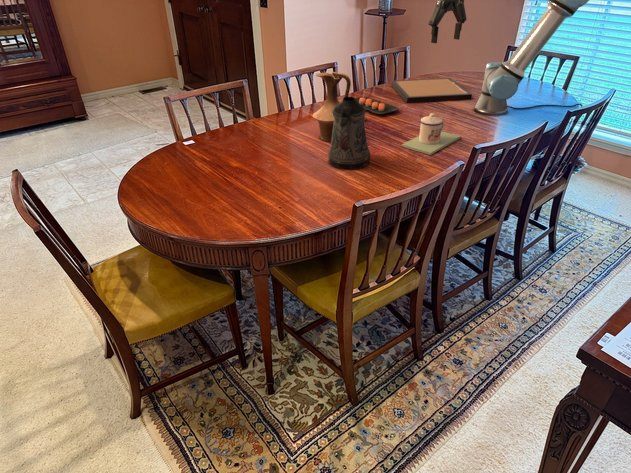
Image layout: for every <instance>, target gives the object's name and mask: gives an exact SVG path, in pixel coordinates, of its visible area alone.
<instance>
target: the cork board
mask: <svg viewBox="0 0 631 473" xmlns="http://www.w3.org/2000/svg"><path fill="white" fill-rule="evenodd" d="M391 86H392V88H393V89H394V90H395V91H396V92H397V94H398V95H399V96H400V97H401V98H402V100H404V102H405V103H406V104H416V103H433V102H435V103H437V102H449V101H450V102H453V101H469V100H470V101H471V100H472V99H473V94H472V93H471V92H470V91H469V90H467V89H465V88H464V87H463V86H462V85H460V84H459V83H457V82H456V81H454V80H453V79H452V78H451V77H441V78H423V79H403V80H392V81H391Z"/></svg>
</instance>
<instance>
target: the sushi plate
mask: <svg viewBox="0 0 631 473" xmlns="http://www.w3.org/2000/svg"><path fill="white" fill-rule="evenodd" d="M354 98H355V100H356V101H357V102H358V103H359V104H360V105H362V106H363V107H364V109H365V110H366V112H369V113H372V114H375V115H378V116H383V115H389V114H391V113H395V112H398V111H399V110H400V108H399V107H397V106H396V105H392V104H390V103H386V102H384V101H380V100H377V99H375V98H372V97H369V96H359V97H354ZM364 122H367V119H366V117H364Z"/></svg>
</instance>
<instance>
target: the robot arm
mask: <svg viewBox="0 0 631 473" xmlns="http://www.w3.org/2000/svg"><path fill="white" fill-rule="evenodd" d="M588 2H590V0H547V7H546V9H545V10H544V12H543V13H542V14H541V15H540V17H539V18H538V19H537V21H536V22H535V24H534V25H533V26H532V28H531V29H530V30H529V32H528V33H527V35H526V36H525V37H524V39H523V40H522V41H521V43H520V44H519V45H518V47H516V49H515V50H514V52H513V53H512V55H511V56H510V57H509V58H508V60H506V61H503V62H502V61H501V62H500V61H496V62H495V61H494V62H493V61H492V62H488V63H487V64H486V66H485V69H484V76H483V82H482V87H481V93H480V96H479V97H478V100H477V102H476V103H475V105H474V111H475V113H478V114H481V115H484V116H493V117H494V116H495V117H496V116H503V115H506V114H507V112H508V108H509V109H512V110H530V109H534V108H539V107H540V108H541V107H558V108H574V107H577V106H580V107H584V105H583V104H582V103H576V104H573V105H564V104H537V105H533V106H526V107H513V106H511V105H508V100H509V99H511V98H513V97H514V96H515V95H516V94H517V91H518V90H519V85H520V83H521V82H522V81H523V80H524V78H525V71H526V70H527V69H528V68H529V67H530V65H531V64H532V62H533V61H534V60H535V59H536V57H537V56H538V55H539V54H540V52H541V51H542V49H543V48H544V47H545V46H546V44H547V43H548V42H549V41H550V40H551V39H552V37H553V36H554V34H555V33H556V31H558V29H559V28H560V27H561V25H562V24H563V23H564V21H565V20H566V19H568V18H570V17H571V18H572V17H573V15H574V14H575V13H576V12H577V11H578V9H580V8H582V7H583V6H585V5H586V4H587V3H588ZM465 7H466V6H465V0H436V3H435V7H434V9H433V11H432V14H431V16H430V18H429V20H428V26H430V27H431V33H430V34H431V39H430V40H431V41H430V43H431V44H437V43H438V37H439V36H438V35H439V29H440V28H439V27H440V26H438V25H439V24H440V23H441V22H442V19H443V18H444V16H445V15H446V13H448V12H452V13H453V16H454V18H455V20H456V22H455V26H454V33H453V40H458V41H459V40H460V38H461V31H462V28H463V24H465V22H466V21H467V13H466V8H465Z"/></svg>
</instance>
